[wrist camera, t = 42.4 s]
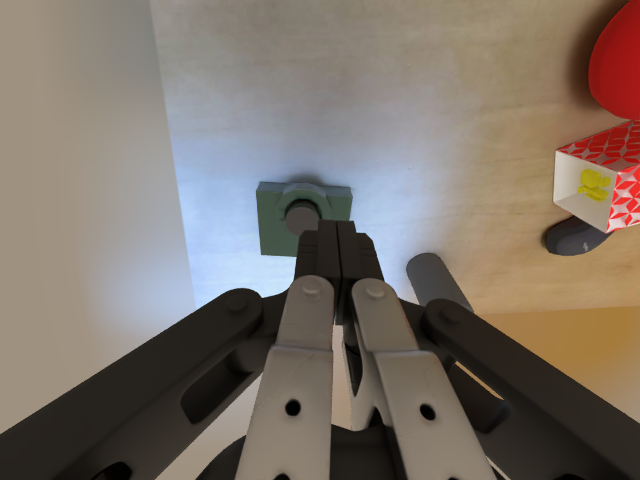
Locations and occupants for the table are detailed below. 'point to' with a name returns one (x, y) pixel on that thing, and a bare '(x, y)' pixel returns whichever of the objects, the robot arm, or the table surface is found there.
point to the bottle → (434, 281)
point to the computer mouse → (574, 237)
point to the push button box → (276, 203)
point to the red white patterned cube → (601, 178)
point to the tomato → (618, 64)
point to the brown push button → (302, 217)
